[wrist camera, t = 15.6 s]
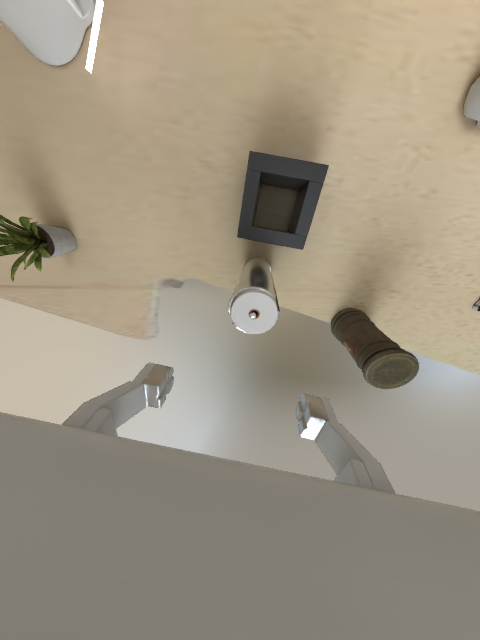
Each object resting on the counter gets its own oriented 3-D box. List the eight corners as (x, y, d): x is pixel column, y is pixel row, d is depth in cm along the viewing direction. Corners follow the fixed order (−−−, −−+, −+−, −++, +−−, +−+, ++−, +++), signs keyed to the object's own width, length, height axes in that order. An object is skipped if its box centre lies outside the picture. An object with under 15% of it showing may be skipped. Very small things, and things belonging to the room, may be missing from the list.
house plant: (40, 184, 41) (-83, 160, 26) (99, 226, 43) (17, 225, 29) (33, 240, 47) (-71, 246, 32) (85, 274, 49) (11, 293, 35)
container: (344, 302, 45) (389, 343, 29) (375, 316, 46) (435, 364, 30) (322, 330, 49) (352, 380, 33) (351, 343, 50) (393, 397, 34)
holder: (252, 168, 35) (249, 150, 27) (313, 179, 35) (329, 165, 27) (241, 235, 41) (237, 237, 33) (294, 245, 41) (303, 249, 33)
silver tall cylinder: (246, 254, 43) (230, 284, 20) (273, 259, 43) (287, 295, 20) (241, 281, 46) (222, 332, 23) (267, 286, 46) (272, 342, 23)
